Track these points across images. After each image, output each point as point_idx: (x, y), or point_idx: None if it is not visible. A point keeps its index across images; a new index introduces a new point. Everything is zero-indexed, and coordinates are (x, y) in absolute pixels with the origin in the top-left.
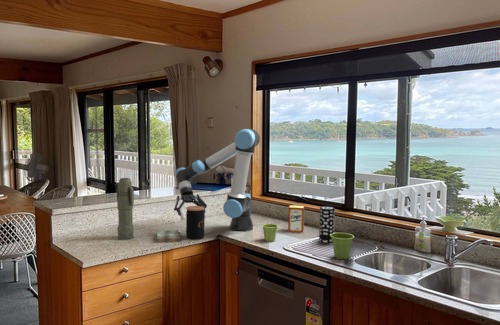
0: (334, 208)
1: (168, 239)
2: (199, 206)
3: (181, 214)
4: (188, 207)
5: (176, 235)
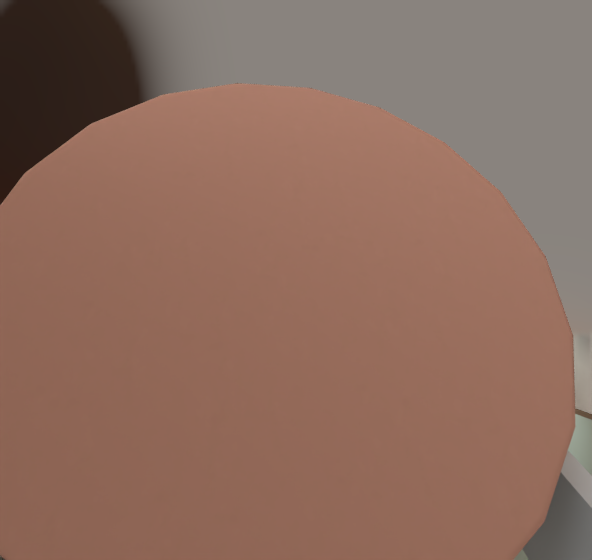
0: None
1: (576, 412)
2: (56, 379)
3: (590, 477)
4: (501, 403)
5: None
